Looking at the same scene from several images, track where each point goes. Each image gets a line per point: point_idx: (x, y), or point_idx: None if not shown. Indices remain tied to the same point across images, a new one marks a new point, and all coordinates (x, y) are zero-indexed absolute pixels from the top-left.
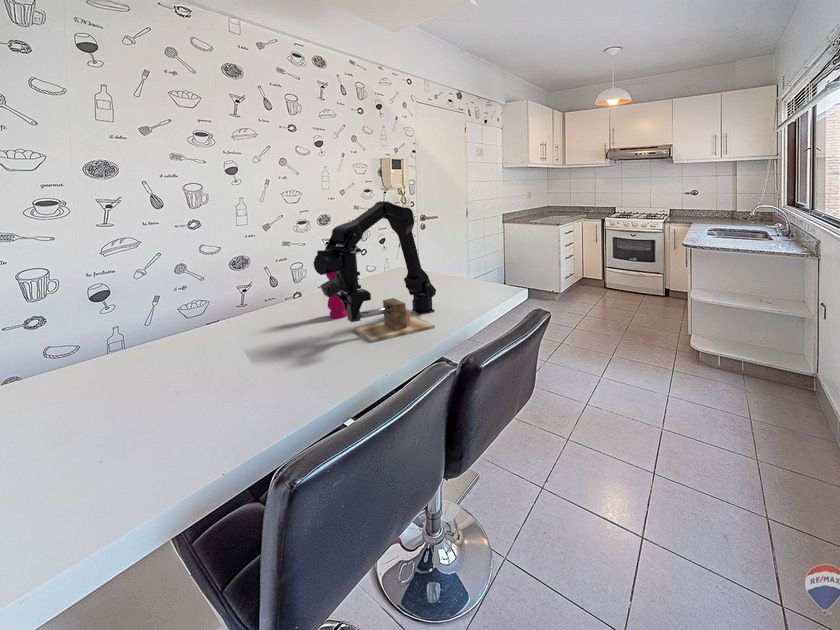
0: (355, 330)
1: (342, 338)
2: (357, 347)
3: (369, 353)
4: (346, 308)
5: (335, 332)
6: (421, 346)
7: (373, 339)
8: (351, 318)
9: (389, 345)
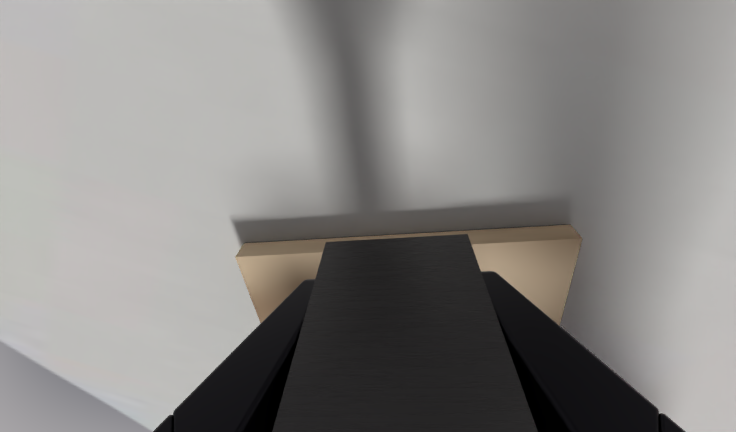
0: (533, 232)
1: (445, 84)
2: (168, 131)
3: (29, 167)
4: (540, 395)
5: (666, 70)
6: (115, 386)
7: (242, 266)
8: (316, 280)
9: (159, 300)
